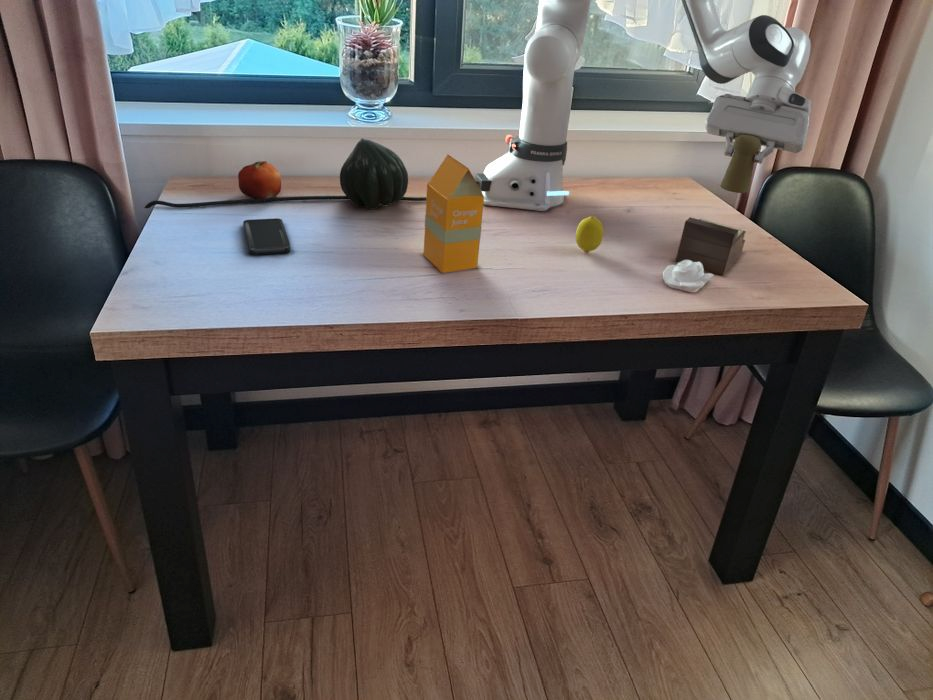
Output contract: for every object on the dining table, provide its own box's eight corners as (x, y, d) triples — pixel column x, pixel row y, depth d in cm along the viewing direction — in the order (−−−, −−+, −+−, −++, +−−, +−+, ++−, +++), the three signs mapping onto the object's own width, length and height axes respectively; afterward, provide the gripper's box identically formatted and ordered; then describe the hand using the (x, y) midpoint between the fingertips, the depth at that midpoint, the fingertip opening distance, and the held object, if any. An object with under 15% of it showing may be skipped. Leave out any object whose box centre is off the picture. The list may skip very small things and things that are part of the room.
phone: (248, 250, 139) (242, 219, 151) (249, 255, 140) (243, 224, 152) (291, 247, 142) (282, 218, 154) (291, 252, 142) (282, 223, 154)
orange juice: (442, 273, 140) (449, 170, 130) (422, 254, 147) (427, 155, 136) (478, 267, 144) (488, 166, 133) (457, 249, 150) (465, 152, 140)
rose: (725, 274, 139) (675, 272, 138) (719, 295, 141) (670, 293, 140) (707, 252, 148) (659, 250, 147) (701, 272, 150) (655, 270, 149)
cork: (751, 194, 153) (766, 141, 148) (721, 190, 154) (735, 137, 149) (747, 185, 159) (762, 134, 153) (719, 181, 159) (732, 130, 154)
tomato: (290, 197, 167) (289, 162, 163) (260, 208, 161) (258, 172, 156) (261, 187, 171) (258, 153, 167) (230, 197, 165) (227, 162, 160)
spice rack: (696, 240, 165) (706, 201, 160) (741, 252, 160) (753, 213, 156) (675, 261, 153) (685, 221, 149) (722, 275, 149) (734, 234, 145)
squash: (425, 189, 163) (402, 126, 163) (364, 201, 155) (340, 135, 156) (401, 213, 175) (379, 154, 176) (343, 225, 168) (321, 164, 168)
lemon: (601, 250, 156) (608, 214, 151) (596, 260, 151) (603, 223, 147) (576, 245, 157) (582, 209, 153) (570, 254, 152) (576, 218, 148)
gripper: (718, 83, 156) (693, 138, 154) (819, 102, 148) (794, 161, 146) (718, 101, 162) (694, 155, 160) (815, 121, 153) (791, 177, 151)
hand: (742, 158), depth 152 cm, fingers closed on cork, 5 cm apart
